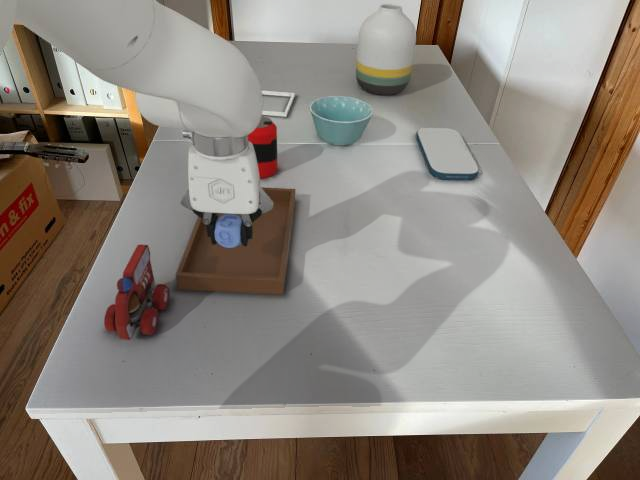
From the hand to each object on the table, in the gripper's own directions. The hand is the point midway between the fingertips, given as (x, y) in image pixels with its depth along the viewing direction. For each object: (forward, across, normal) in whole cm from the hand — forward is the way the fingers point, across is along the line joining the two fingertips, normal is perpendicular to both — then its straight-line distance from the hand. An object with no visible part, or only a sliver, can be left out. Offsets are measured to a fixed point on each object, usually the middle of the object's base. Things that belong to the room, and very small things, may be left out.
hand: (230, 239), depth 81 cm
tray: (+8, 0, +10) cm, 13 cm away
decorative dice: (+1, 0, 0) cm, 1 cm away
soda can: (+9, 0, +36) cm, 37 cm away
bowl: (+9, +18, +54) cm, 58 cm away
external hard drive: (+9, +44, +47) cm, 65 cm away
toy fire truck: (+9, -13, -10) cm, 19 cm away
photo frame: (+8, -5, +73) cm, 74 cm away
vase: (+9, +31, +89) cm, 95 cm away
